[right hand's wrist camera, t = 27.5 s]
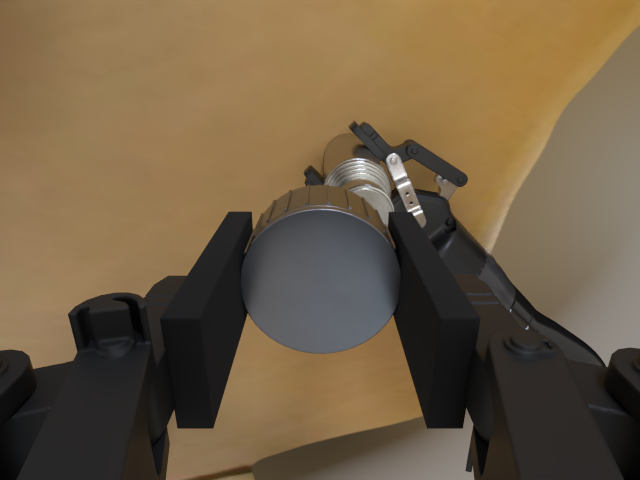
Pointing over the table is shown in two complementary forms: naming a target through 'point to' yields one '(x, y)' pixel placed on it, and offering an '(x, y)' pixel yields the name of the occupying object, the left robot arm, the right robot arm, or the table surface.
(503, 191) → the table surface
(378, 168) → the bottle
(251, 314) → the cap
